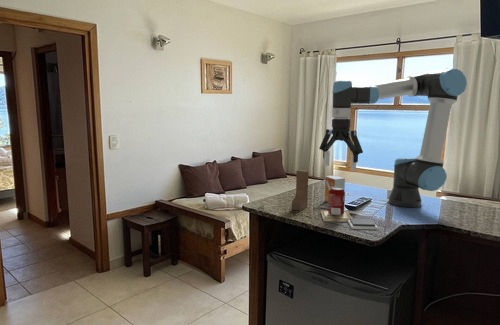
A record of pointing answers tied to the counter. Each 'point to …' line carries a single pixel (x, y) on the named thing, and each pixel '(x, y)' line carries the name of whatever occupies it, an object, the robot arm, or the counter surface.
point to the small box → (333, 184)
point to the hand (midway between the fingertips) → (339, 168)
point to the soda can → (336, 201)
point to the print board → (328, 217)
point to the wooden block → (301, 191)
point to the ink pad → (362, 224)
